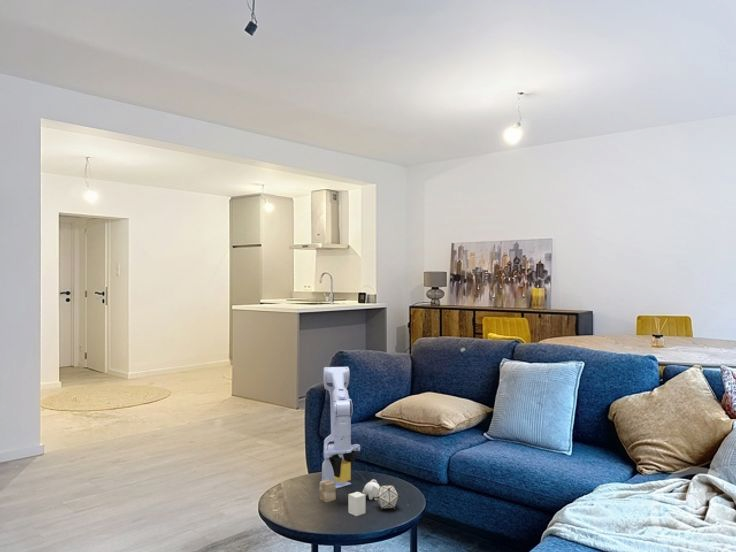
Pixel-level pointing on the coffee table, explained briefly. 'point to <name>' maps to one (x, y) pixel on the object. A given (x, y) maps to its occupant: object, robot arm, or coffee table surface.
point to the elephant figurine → (371, 489)
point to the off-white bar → (356, 503)
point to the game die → (387, 496)
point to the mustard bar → (344, 472)
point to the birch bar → (327, 490)
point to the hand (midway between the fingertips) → (342, 475)
